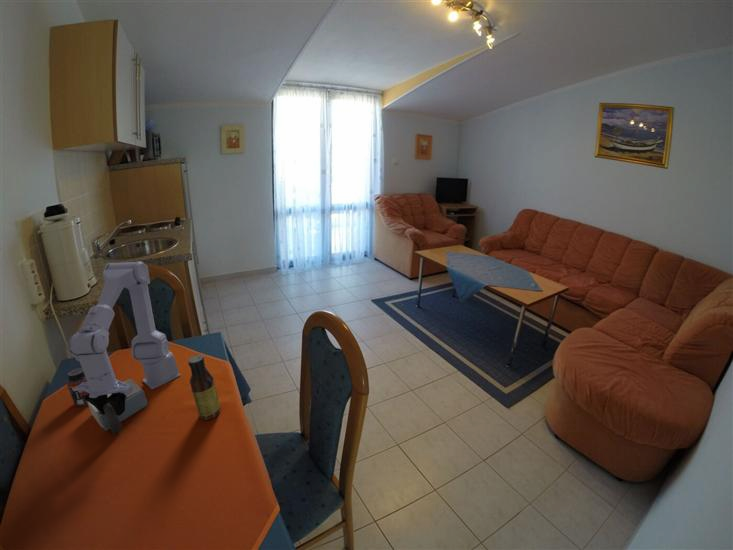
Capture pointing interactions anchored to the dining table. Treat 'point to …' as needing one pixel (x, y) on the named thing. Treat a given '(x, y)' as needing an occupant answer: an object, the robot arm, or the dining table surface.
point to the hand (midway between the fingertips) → (113, 412)
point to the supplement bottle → (74, 380)
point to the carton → (129, 382)
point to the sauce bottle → (203, 389)
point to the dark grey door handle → (131, 407)
